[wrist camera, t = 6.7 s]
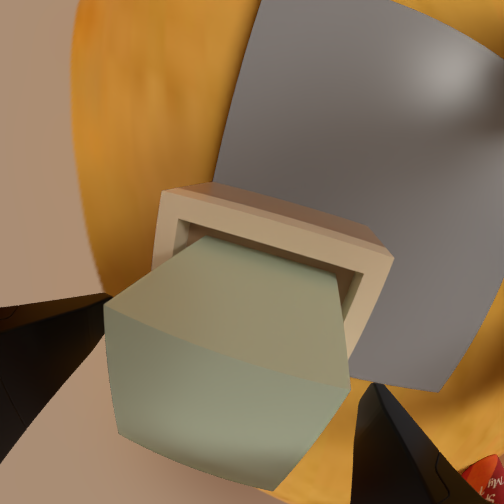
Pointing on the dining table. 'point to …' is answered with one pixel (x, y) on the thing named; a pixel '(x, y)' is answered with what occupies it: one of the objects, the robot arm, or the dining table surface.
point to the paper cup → (487, 478)
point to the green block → (228, 360)
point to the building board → (365, 176)
